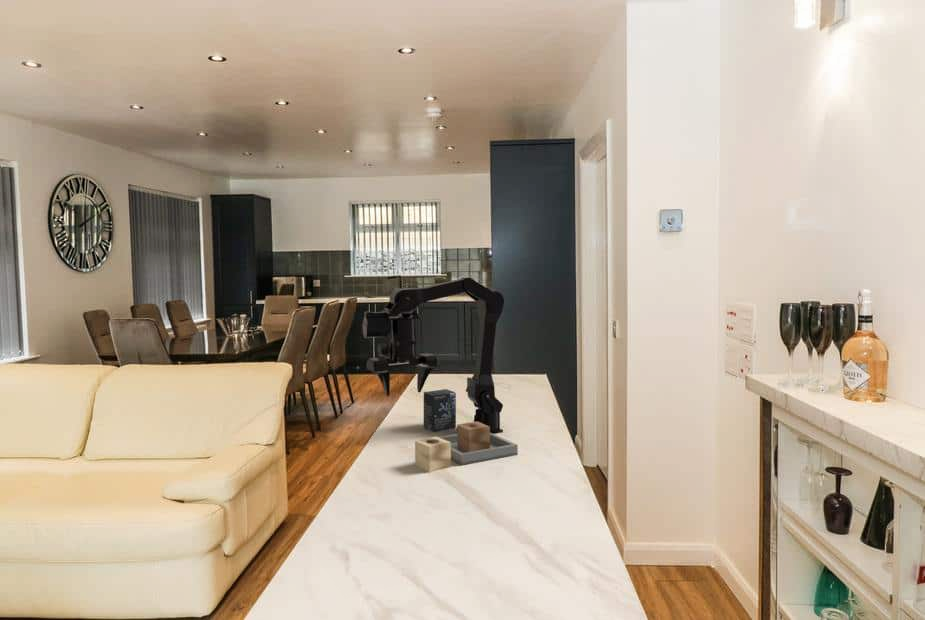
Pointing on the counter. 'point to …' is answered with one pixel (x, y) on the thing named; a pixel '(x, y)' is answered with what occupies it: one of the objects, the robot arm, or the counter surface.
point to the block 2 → (473, 436)
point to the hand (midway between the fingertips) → (403, 394)
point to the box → (439, 410)
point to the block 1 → (433, 454)
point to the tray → (496, 450)
